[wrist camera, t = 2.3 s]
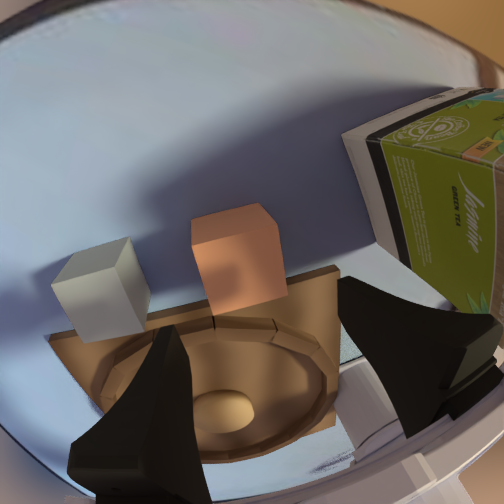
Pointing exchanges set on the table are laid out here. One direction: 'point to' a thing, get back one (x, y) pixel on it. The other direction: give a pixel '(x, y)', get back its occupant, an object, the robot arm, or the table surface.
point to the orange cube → (239, 257)
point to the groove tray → (235, 367)
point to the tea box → (440, 192)
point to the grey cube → (104, 291)
